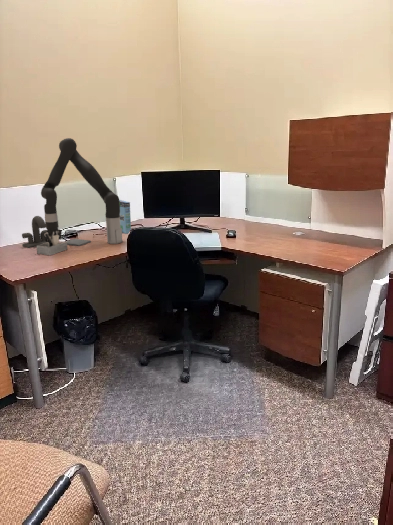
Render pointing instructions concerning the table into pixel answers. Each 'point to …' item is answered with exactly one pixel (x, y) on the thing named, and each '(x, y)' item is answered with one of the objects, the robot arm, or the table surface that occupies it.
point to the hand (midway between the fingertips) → (54, 247)
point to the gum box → (125, 216)
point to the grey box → (51, 248)
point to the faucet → (35, 233)
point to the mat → (77, 242)
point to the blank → (55, 239)
